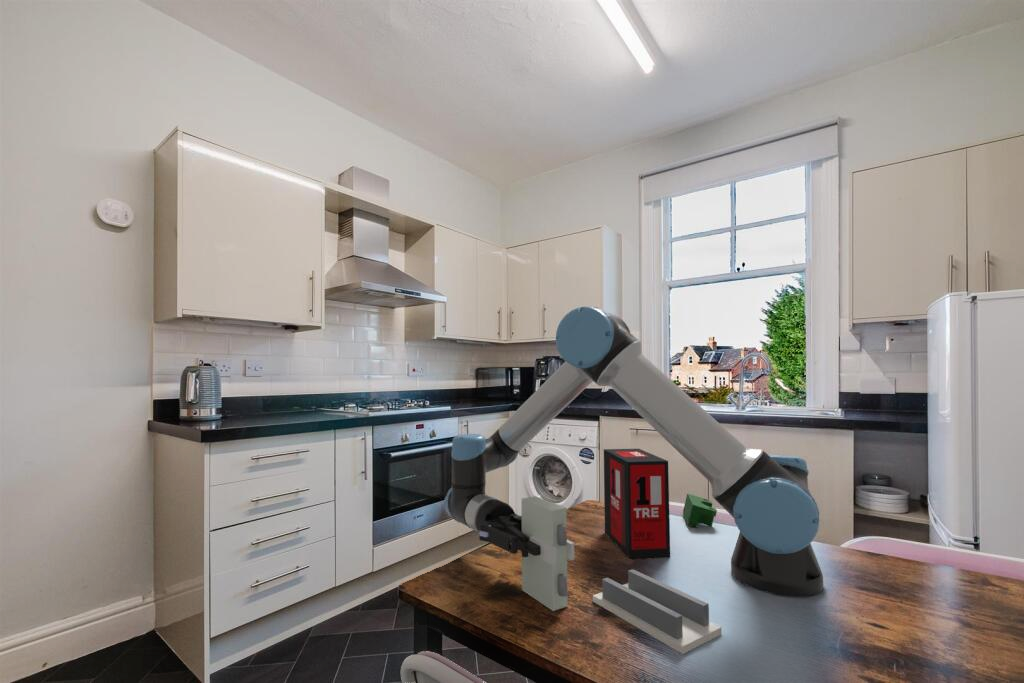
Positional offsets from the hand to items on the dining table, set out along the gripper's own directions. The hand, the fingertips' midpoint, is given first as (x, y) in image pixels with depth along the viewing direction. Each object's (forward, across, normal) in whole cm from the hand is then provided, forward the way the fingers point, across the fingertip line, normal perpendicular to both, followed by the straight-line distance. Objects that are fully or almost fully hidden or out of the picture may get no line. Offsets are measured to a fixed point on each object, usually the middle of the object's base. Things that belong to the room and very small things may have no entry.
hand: (563, 554), depth 78 cm
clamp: (-16, -59, -10) cm, 62 cm away
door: (-5, 0, -9) cm, 11 cm away
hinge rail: (+9, -11, -9) cm, 17 cm away
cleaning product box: (-15, -33, -9) cm, 37 cm away
